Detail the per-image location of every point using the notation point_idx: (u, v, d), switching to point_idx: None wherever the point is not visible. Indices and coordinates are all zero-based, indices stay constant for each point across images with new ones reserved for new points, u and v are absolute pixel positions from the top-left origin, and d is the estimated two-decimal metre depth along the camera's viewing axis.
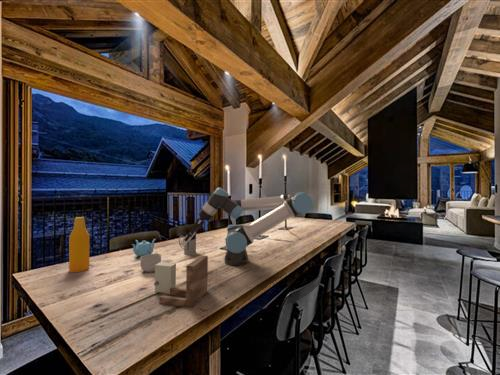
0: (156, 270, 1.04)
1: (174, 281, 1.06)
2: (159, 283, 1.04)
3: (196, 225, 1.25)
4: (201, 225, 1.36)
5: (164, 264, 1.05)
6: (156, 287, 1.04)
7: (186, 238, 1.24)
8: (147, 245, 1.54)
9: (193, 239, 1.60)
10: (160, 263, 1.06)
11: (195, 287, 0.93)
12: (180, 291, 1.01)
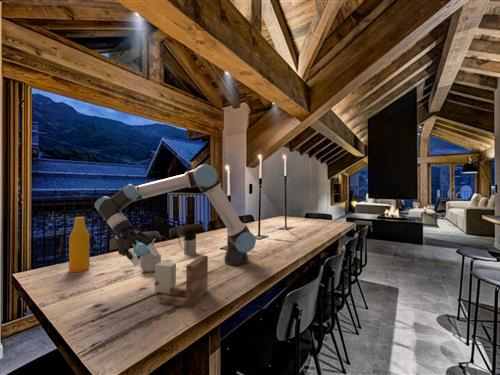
0: (156, 270, 1.04)
1: (174, 281, 1.06)
2: (159, 283, 1.04)
3: (117, 241, 1.02)
4: (138, 235, 1.12)
5: (164, 264, 1.05)
6: (156, 287, 1.04)
7: (128, 256, 1.00)
8: None
9: (193, 239, 1.60)
10: (160, 263, 1.06)
11: (195, 287, 0.93)
12: (180, 291, 1.01)
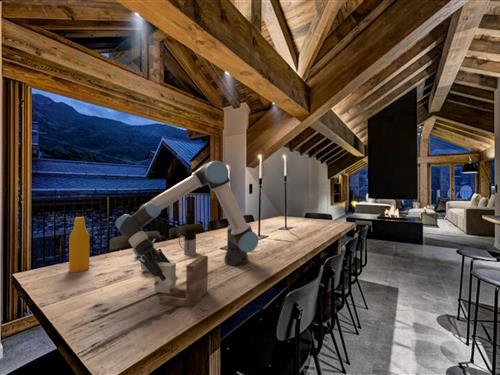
0: None
1: (174, 281, 1.06)
2: (159, 283, 1.04)
3: (145, 263, 1.01)
4: (159, 255, 1.08)
5: (164, 264, 1.05)
6: (156, 287, 1.04)
7: (161, 277, 1.02)
8: None
9: (193, 239, 1.60)
10: (160, 263, 1.06)
11: (195, 287, 0.93)
12: (180, 291, 1.01)
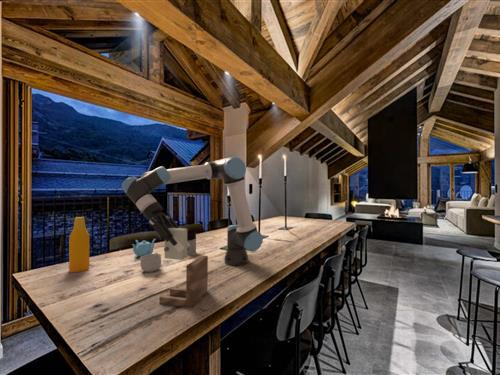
0: None
1: (185, 247, 0.98)
2: (169, 249, 0.96)
3: (155, 226, 0.93)
4: (169, 220, 1.00)
5: (175, 229, 0.97)
6: (166, 253, 0.96)
7: (172, 242, 0.94)
8: (147, 245, 1.54)
9: (193, 239, 1.60)
10: (170, 228, 0.98)
11: (195, 287, 0.93)
12: (180, 291, 1.01)
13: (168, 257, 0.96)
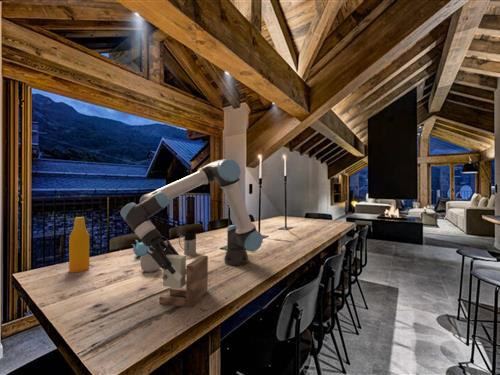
0: None
1: (184, 275, 0.97)
2: (168, 277, 0.96)
3: (154, 255, 0.93)
4: (167, 247, 1.00)
5: (173, 257, 0.96)
6: (164, 281, 0.96)
7: (170, 271, 0.94)
8: None
9: (193, 239, 1.60)
10: (169, 255, 0.98)
11: (195, 287, 0.93)
12: (180, 291, 1.01)
13: (166, 285, 0.96)
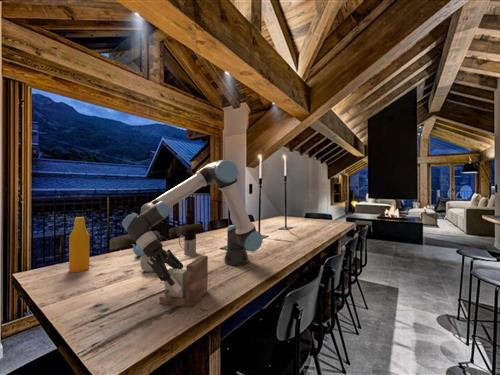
0: None
1: (185, 289, 0.98)
2: (169, 291, 0.96)
3: (154, 266, 0.93)
4: (169, 257, 1.01)
5: (175, 271, 0.97)
6: None
7: (169, 282, 0.93)
8: None
9: (193, 239, 1.60)
10: (170, 270, 0.98)
11: (195, 287, 0.93)
12: None
13: None
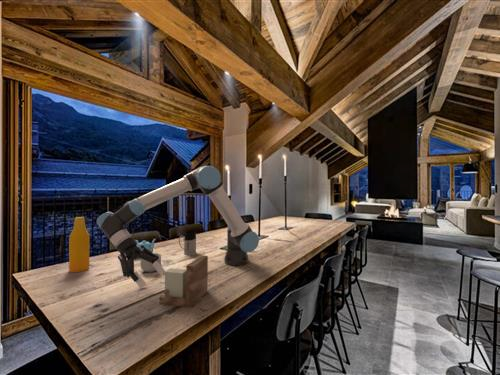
0: (166, 277, 0.96)
1: (185, 289, 0.98)
2: (169, 291, 0.96)
3: (122, 261, 0.95)
4: (144, 252, 1.05)
5: (175, 271, 0.97)
6: None
7: (133, 278, 0.93)
8: (147, 245, 1.54)
9: (193, 239, 1.60)
10: (170, 270, 0.98)
11: (195, 287, 0.93)
12: None
13: None
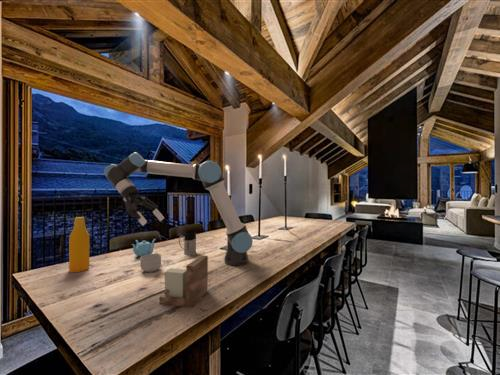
0: (166, 277, 0.96)
1: (185, 289, 0.98)
2: (169, 291, 0.96)
3: (126, 202, 1.09)
4: (145, 200, 1.19)
5: (175, 271, 0.97)
6: None
7: (136, 216, 1.07)
8: (147, 245, 1.54)
9: (193, 239, 1.60)
10: (170, 270, 0.98)
11: (195, 287, 0.93)
12: None
13: None
